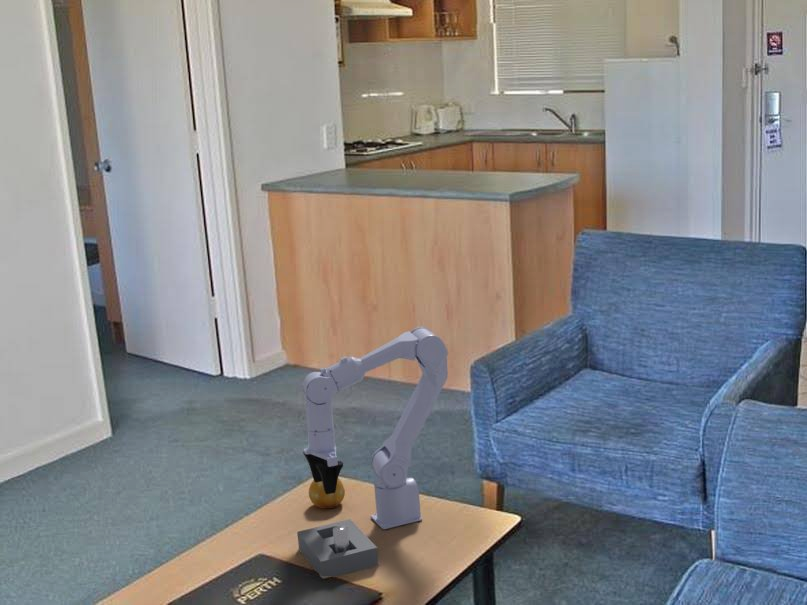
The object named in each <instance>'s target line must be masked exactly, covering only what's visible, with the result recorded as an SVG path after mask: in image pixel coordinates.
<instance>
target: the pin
mask: <svg viewBox="0 0 807 605" xmlns="http://www.w3.org/2000/svg"><path fill="white" fill-rule="evenodd" d="M333 537H334V546H335V554H337V553H341V552H345V551H349V550H350V548H349V538H348V529H347V526H344V525H340V526H336V527H334V528H333Z"/></svg>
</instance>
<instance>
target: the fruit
mask: <svg viewBox="0 0 807 605" xmlns="http://www.w3.org/2000/svg"><path fill="white" fill-rule="evenodd" d="M345 492H346V489H345V485H344V484H343V481H342V480H341V479H340V478H339V477H338V480H337V486H336V491H335V493H331V494H326V493H325V491H324V487H323V482H322V481H321V482H316V483H315V482H314V479H313V480H312V481H311V483H310V485H309V487H308V498H309V500H310V502H311V503H312V505H314V506H315V507H317V508H318V509H319V508H320V509H332V508H335V507H337V506H339V505H340V504H341V503H342V502H343V500H344V498H345V496H346V494H345Z"/></svg>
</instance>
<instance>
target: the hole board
mask: <svg viewBox="0 0 807 605" xmlns="http://www.w3.org/2000/svg"><path fill="white" fill-rule="evenodd" d="M340 525H344V526H347V529H348V538H349V548H350V550H349V551H345V552H341V553H337V554H335V546H334V537H333V528H334V527H336V526H340ZM296 533H297V543H298V550H299V552H301V554H302V555H303V556H304V558H305V559H306V560H307V562H308V563H309V564H310V566H311V567H312V568H313V570H314V571H315V572H316V571H317V572H318V573H320V574H321V575H322V576H331V577H333V578H336V577H340V576H344V575H348V574H352V573H355V572H359V571H363V570H367V569H371V568H374V567H378V566H379V556H378V554H379V553H378V547H377V545H375V543H373V542H372V540H370V538H369V537H368V536H367V534H365V533H364V532H363V531H362V530H361V529H360V528H359V527H358V526H357V525H356V523H354V521H353V520H351V519H350V518H349V519H345V520H341V521H336V522H332V523H327V524H324V525H320V526H317V527H312V528H307V529H303V530H299V531H297V532H296ZM317 572H316V573H317ZM318 573H317V574H318Z"/></svg>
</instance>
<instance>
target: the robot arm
mask: <svg viewBox="0 0 807 605" xmlns="http://www.w3.org/2000/svg"><path fill="white" fill-rule="evenodd" d="M448 355H449V351H448V349H447V347H446V344H445V342H444V341H443V339H441V338H440V337H439V336H438V335H435V334H434V333H433V332H432V331H431V330H430V329H429V328H427V327H425V326H418V327H415V328H414V329H412V330H410V331H405V332H403V333H402V334H400V335H399V336H397V337H396V338H394V339H392V340H390V341H388V342H387V343H385V344H383V345H381V346H379V347H377V348H375V349H374V350H372V351H370V352H369V353H367V354H364V355H363V356H362V357H355V356H349V357H347V356H345V355H344V356H342V357H341V358H339V359H340V361H338V362H336V363H334V364H333V365H330V366H329V367H326V368H325V367H321V368H320V369H319V370H320V371H313V372H309V373H308V374H307V375H306V376H305V378H304V379H303V382H302V384H301V389H302V391H303V393H304V394H305V395H306V396H305V406H306V408H305V413H306V414H305V416H306V426H307V427H306V429H307V448H303V452H302V453H303V455H304V457H305V459H306V461H307V463H308V465H309V469H310V472H311V475H312V478H313V480H314V482H315V483H316V482H321V481H322V482H323V487H324V491H325V493H326V494H331V493H335V491H336V486H337V480H338V478H339V475H340V473H341V470H342V469H343V468H344V467H343V466H344V463H343V461H341V460H338V455H337V445H336V441H335V426H334V411H333V410H334V409H333V406H332V405H333V404H332V399H333V397H334V395H335V394H337V393H339V392H341V391H344V390H346V389H347V388H349V387H352V386H354V385H355V384H357V383H360V382H362V381H363V380H364V377H365V376H366V374H367V373H368V372H371V371H372V370H374V369H377V368H379V367H382V366H385V365H386V364H388V363H391V362H393V361H396V360H398V359H404V360H409V361H416V360H417V363H418V365H419V368H420V370H421V373H422V374H421V377H420V379H419V380H418V382H417V385H416V386H415V388H414V390H413V392H412V395H411V396H410V398H409V399H408V400H409V401H408V402H407V403H406V404H407V405H406V407H405V408H404V410H403V412H402V413H401V416H400V418H399V420H398V421H397V423H396V425H395V428H394V429H393V431H392V434H391V436H390V437H388V438H387V439H385V440H384V441H383V443H382V445H381V446H380V447H379V448H378V449H377V450H376V451H374V453H373V454H372V456H371V458H370V466H371V468H372V470H373V471H374V472H375V473H376V474H375V478H374V480H373V483H374V484H373V485H374V496H375V497H374V498H375V510H376V513H373V514H370V518H371V519H372V520H373V521H374V522H375V523H376V524H377V525H378V526H379V527H380V528H381V529H382V530H386V529H387V530H388V529H391V528H395V527H400V526H404V525H407V524H411V523H415V522H419V521H422V520H423V517H422V514H421V502H420V501H421V500H420V492H419V490H420V489H419V487H418V483H417V481H416V480H415V479H414V478H413V477H408V474H409V471H408V470H409V466H410V464H411V461H412V448H413V447H414V444H415V442H416V441H417V439H418V437H419V435H420V433H421V430H422V428H423V427H424V425H425V423H426V421H427V419H428V417H429V415H430V413H431V411H432V410H433V407H434V405H435V403H436V401H437V399H438V398H439V396H440V394H441V392H442V390H443V388H444V385H445V384H446V382H447V380H448V377H449V376H448V373H449V372H448Z"/></svg>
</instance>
